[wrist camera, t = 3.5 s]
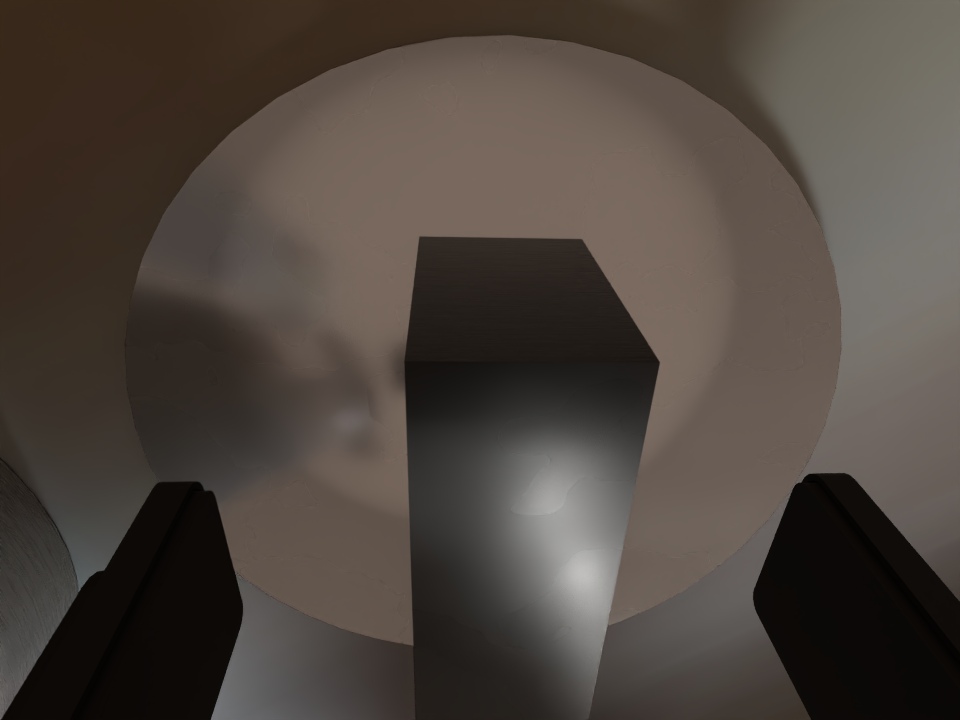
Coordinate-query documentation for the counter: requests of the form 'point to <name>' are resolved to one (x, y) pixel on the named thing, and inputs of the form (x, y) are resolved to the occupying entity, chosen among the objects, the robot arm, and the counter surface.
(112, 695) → the robot arm
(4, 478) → the pot
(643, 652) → the counter surface
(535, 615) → the lid
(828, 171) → the counter surface
